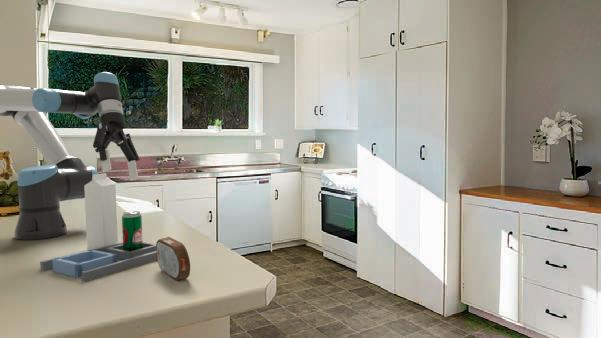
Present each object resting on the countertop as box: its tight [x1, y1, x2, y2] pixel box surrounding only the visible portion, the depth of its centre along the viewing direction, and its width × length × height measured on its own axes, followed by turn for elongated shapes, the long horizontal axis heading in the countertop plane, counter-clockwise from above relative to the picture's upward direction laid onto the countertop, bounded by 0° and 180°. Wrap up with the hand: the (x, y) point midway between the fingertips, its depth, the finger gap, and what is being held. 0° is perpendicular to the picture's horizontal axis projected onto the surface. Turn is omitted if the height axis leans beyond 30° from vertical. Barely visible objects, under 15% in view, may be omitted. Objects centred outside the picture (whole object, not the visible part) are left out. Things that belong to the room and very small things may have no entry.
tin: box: [155, 236, 191, 281], centre depth 102 cm, size 15×3×8 cm, turn 38°
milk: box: [84, 172, 119, 251], centre depth 128 cm, size 6×6×22 cm
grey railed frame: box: [39, 241, 157, 282], centre depth 114 cm, size 18×26×3 cm
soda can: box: [121, 210, 144, 251], centre depth 119 cm, size 5×5×12 cm
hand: (121, 175), depth 139 cm, fingers open, 13 cm apart
